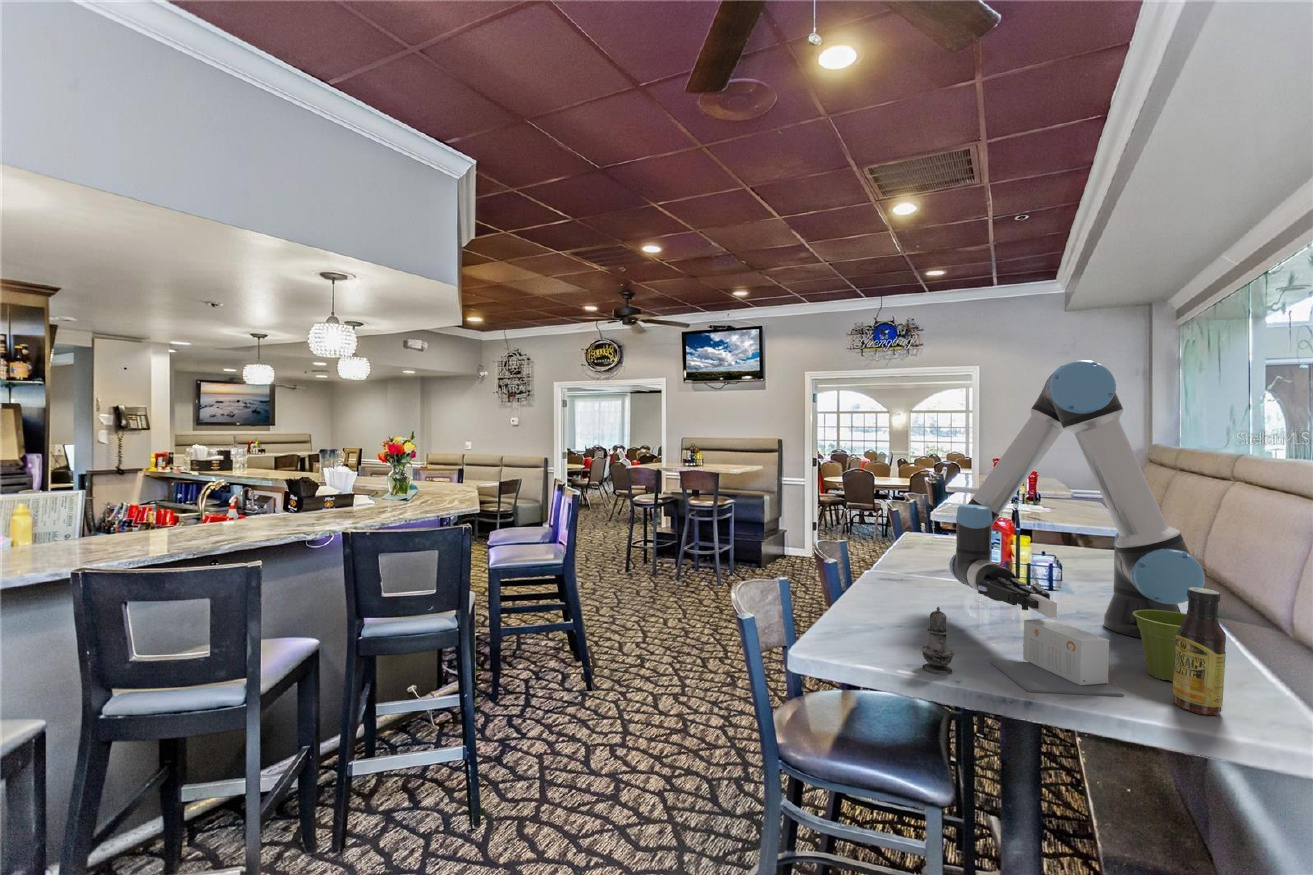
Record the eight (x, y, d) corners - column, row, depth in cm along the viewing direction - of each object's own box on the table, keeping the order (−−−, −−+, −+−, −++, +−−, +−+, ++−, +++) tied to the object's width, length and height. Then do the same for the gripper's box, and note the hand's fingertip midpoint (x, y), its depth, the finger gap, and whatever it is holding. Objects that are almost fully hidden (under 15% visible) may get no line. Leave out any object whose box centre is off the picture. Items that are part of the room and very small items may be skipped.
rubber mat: (1074, 665, 120) (1074, 663, 120) (1124, 696, 106) (1124, 694, 106) (989, 662, 121) (990, 660, 121) (1027, 691, 107) (1027, 689, 107)
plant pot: (1158, 663, 122) (1159, 606, 122) (1230, 686, 111) (1231, 624, 111) (1116, 669, 118) (1117, 611, 118) (1186, 694, 107) (1187, 630, 107)
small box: (1049, 658, 123) (1109, 684, 110) (1021, 659, 121) (1079, 686, 109) (1050, 617, 123) (1110, 639, 110) (1023, 618, 121) (1081, 641, 109)
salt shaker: (958, 676, 113) (959, 612, 113) (924, 673, 114) (925, 609, 114) (949, 665, 119) (950, 603, 119) (917, 662, 120) (918, 601, 120)
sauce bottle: (1162, 701, 104) (1164, 584, 104) (1196, 700, 105) (1198, 584, 105) (1199, 718, 98) (1202, 594, 97) (1235, 718, 98) (1238, 594, 98)
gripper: (1022, 598, 137) (1088, 631, 113) (961, 596, 138) (1015, 629, 114) (1022, 564, 137) (1089, 591, 113) (962, 562, 138) (1016, 588, 114)
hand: (1052, 610), depth 114 cm, fingers closed
